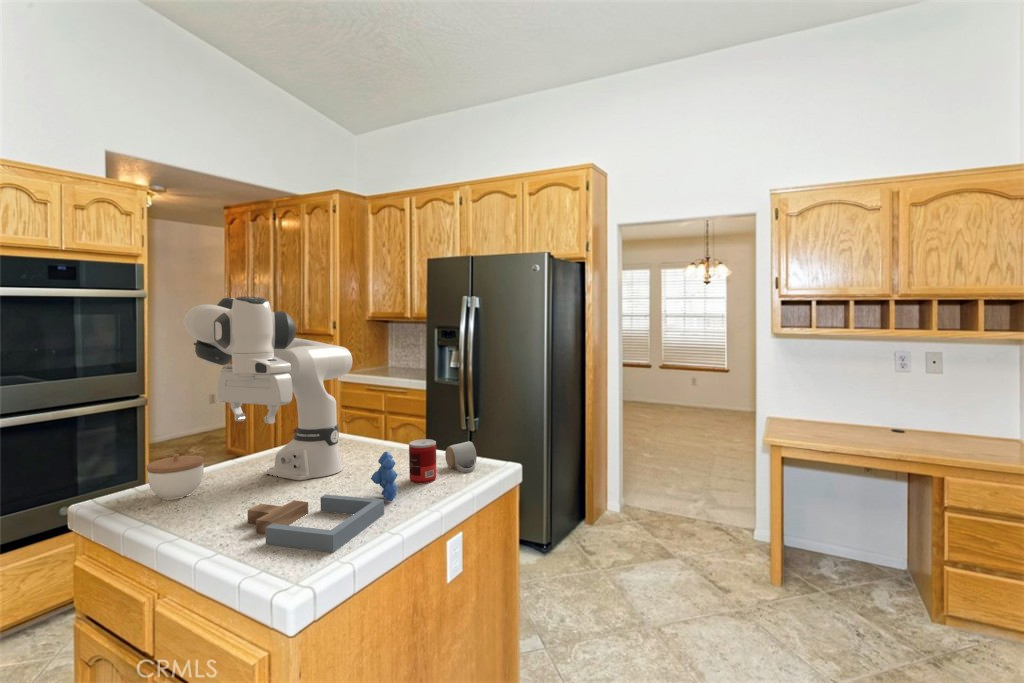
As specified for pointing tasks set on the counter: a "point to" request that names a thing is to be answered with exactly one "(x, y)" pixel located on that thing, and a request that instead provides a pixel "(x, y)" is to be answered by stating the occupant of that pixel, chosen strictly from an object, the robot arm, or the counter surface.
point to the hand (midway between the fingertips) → (254, 422)
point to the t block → (276, 514)
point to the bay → (336, 537)
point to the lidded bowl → (175, 475)
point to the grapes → (386, 476)
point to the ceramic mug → (461, 456)
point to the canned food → (422, 461)
